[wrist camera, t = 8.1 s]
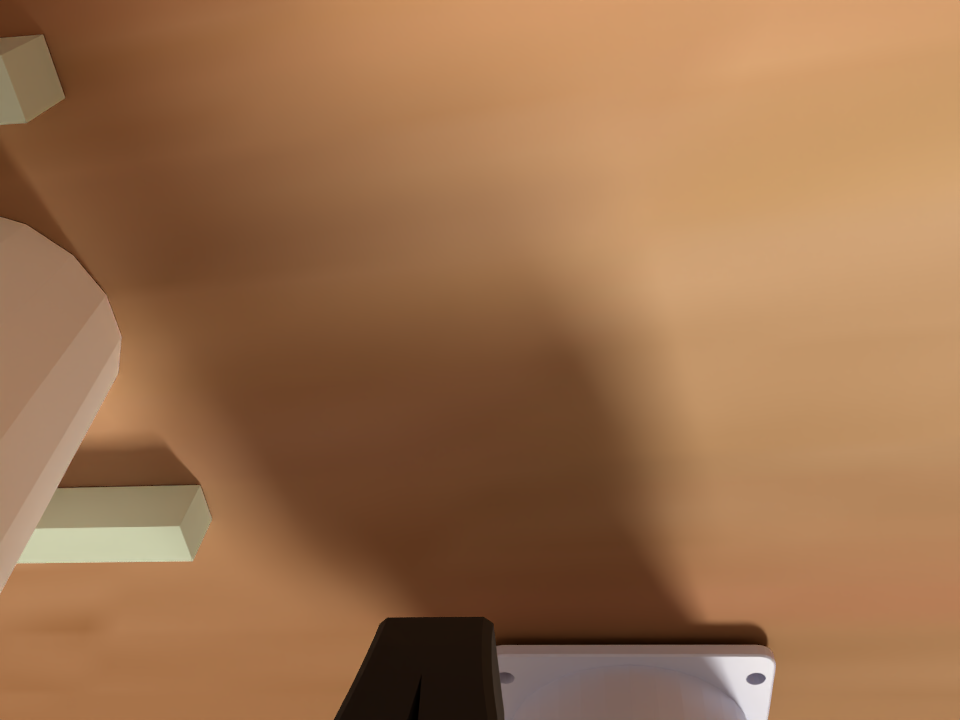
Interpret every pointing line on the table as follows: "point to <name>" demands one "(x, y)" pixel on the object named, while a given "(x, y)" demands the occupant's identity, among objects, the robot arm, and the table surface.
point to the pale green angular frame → (95, 510)
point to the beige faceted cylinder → (45, 375)
